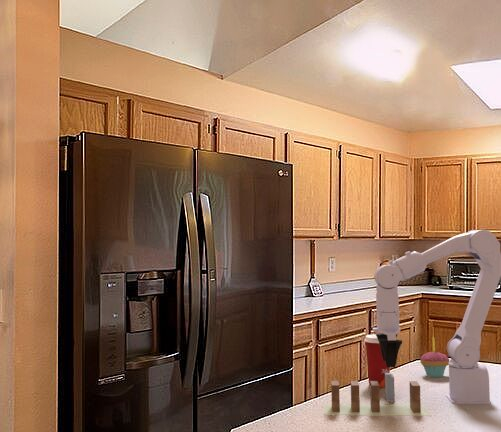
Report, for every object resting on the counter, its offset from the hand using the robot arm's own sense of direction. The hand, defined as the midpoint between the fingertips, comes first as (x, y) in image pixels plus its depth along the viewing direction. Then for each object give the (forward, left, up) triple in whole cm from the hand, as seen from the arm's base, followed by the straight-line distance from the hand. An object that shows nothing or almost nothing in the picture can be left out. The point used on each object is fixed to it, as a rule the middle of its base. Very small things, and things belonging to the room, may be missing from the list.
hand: (389, 363), depth 158 cm
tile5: (+14, +10, -9) cm, 20 cm away
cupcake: (-17, -27, -10) cm, 33 cm away
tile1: (-5, +10, -9) cm, 14 cm away
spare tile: (0, 0, -9) cm, 9 cm away
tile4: (+10, +10, -9) cm, 17 cm away
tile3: (+5, +10, -9) cm, 14 cm away
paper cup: (+1, -15, -10) cm, 18 cm away
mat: (+5, +10, -9) cm, 14 cm away
